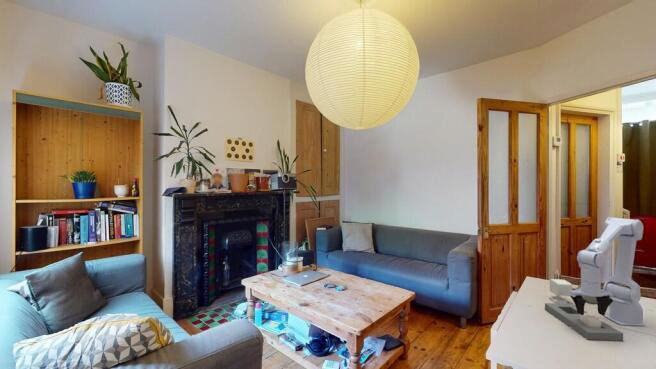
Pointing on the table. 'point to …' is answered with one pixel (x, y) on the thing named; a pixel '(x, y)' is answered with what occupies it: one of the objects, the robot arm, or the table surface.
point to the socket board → (572, 319)
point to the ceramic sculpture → (587, 298)
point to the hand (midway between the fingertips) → (590, 314)
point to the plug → (590, 320)
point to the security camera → (559, 290)
